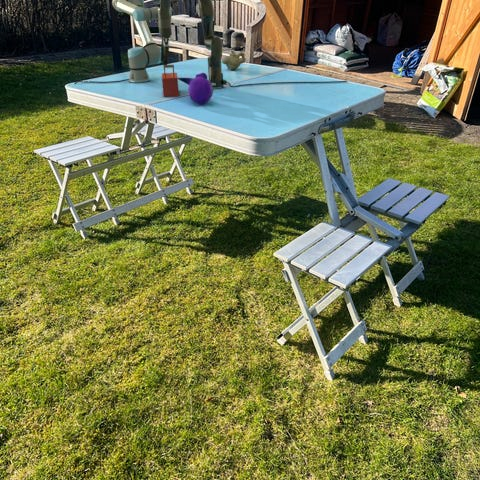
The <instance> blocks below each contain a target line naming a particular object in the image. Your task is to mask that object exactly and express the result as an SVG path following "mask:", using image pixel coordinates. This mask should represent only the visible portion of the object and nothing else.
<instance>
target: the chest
mask: <svg viewBox="0 0 480 480" xmlns="http://www.w3.org/2000/svg"><path fill="white" fill-rule="evenodd" d="M161 83H162V91H163V93H162V94H163V98H174V97H180V91H179V79H169V80H162V79H161Z"/></svg>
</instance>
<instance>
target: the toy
mask: <svg viewBox="0 0 480 480" xmlns="http://www.w3.org/2000/svg"><path fill="white" fill-rule="evenodd" d="M178 81H181V82H182V83H184V84H186V85H188V96H189V98H190V100H191V101H192V102H193V103H195V104H198V105H205V104H207V103H208V102H209V101H210V100H211V99H212V97H213V94H214V89H213V88H212V84H211V83H210V81H209V79H208V74H206V73H205V72H201V73H197V74H196V75H195V77H193V78H192V77H178Z"/></svg>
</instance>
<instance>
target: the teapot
mask: <svg viewBox="0 0 480 480" xmlns="http://www.w3.org/2000/svg"><path fill="white" fill-rule="evenodd" d="M240 57H241V59H240ZM245 61H246V56H245V53H244V52H243V51H240V52H238V53H237V54H236V52H235V50H233V49H232V50H231V51H230V53H229V56H224V57H222V58H221V64H223V65H225V66H226V68H227V69H228V70H230V71H234V70H237V69H238V68H239V67H240V66H241V64H244V63H245Z"/></svg>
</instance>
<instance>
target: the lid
mask: <svg viewBox="0 0 480 480" xmlns="http://www.w3.org/2000/svg"><path fill="white" fill-rule="evenodd" d="M162 66H163V72H162V73H161V81H162V80H169V79H178V78H179V77H178V72H175V64H167V65H163V64H162ZM166 68H169V69H171V68H172V72H166ZM178 80H179V79H178Z"/></svg>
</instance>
